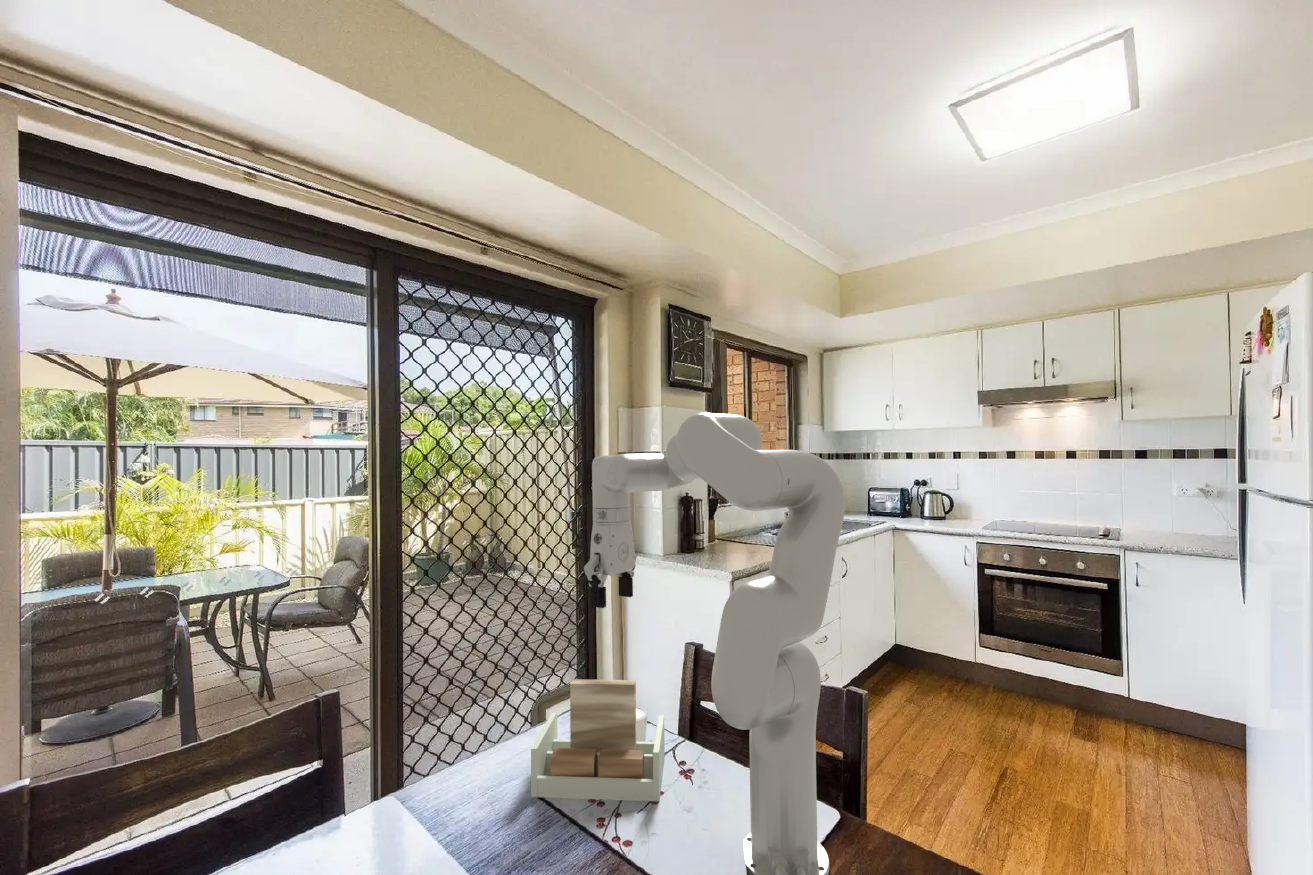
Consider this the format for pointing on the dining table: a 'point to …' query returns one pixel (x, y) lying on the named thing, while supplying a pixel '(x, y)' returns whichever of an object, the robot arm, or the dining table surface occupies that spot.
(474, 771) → the dining table surface
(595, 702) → the birch sheet
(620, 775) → the offcut
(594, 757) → the offcut
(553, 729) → the rack
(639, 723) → the white cup
